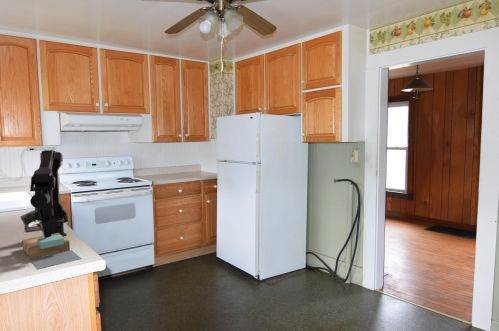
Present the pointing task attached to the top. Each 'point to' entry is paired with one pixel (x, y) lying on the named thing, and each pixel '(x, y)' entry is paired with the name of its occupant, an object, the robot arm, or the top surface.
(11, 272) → the top surface
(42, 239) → the teal tile
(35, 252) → the oak deck
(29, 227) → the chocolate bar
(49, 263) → the slate mat
